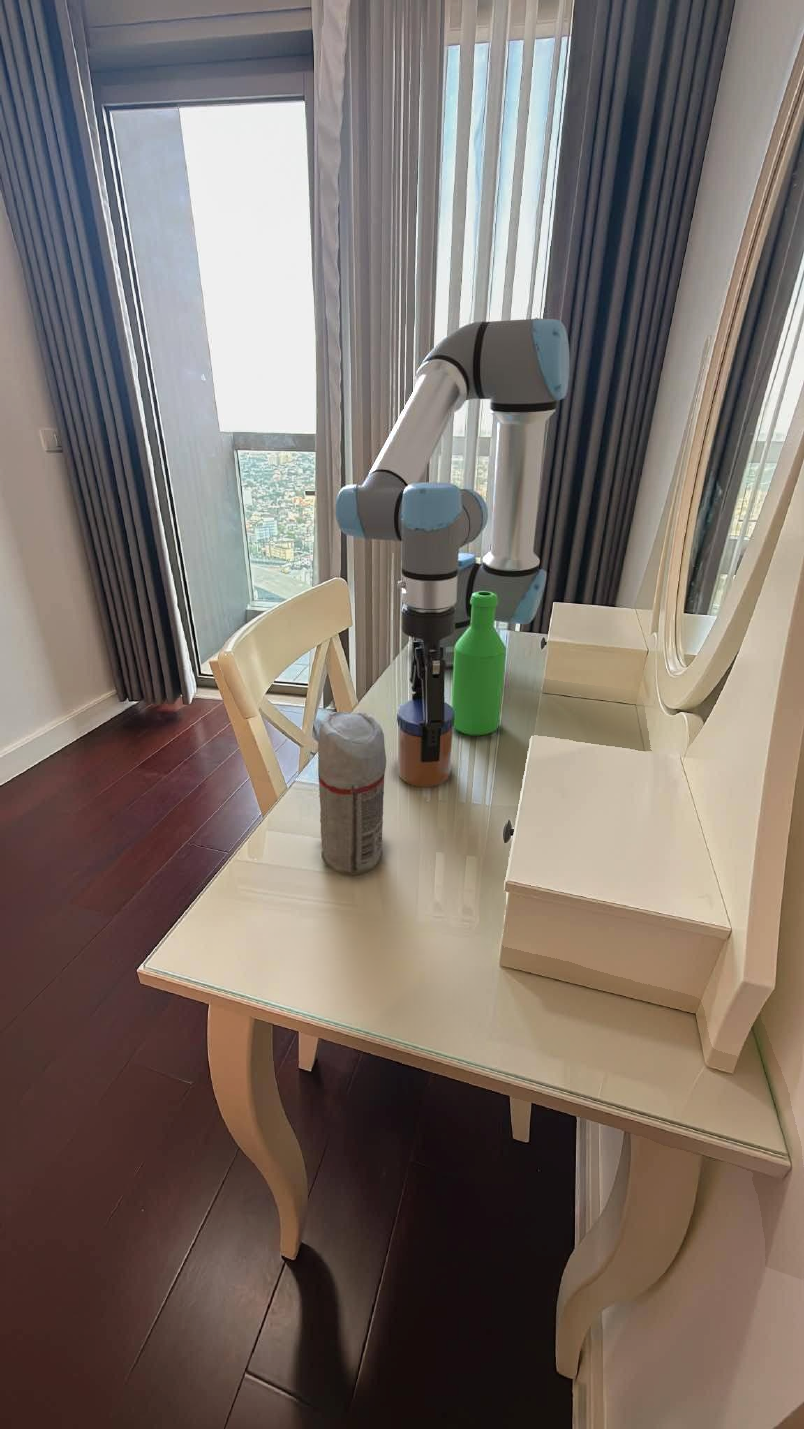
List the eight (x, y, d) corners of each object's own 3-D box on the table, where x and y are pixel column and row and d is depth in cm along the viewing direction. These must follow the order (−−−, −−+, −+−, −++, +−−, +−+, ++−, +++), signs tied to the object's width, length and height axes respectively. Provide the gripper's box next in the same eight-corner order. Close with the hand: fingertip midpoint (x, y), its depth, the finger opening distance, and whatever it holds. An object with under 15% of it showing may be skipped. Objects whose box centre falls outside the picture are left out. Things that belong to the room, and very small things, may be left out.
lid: (394, 710, 90) (394, 699, 89) (447, 707, 91) (448, 696, 90) (401, 738, 82) (401, 727, 81) (459, 734, 83) (460, 723, 82)
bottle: (497, 716, 107) (510, 587, 95) (499, 739, 100) (514, 602, 88) (450, 713, 108) (457, 585, 96) (449, 737, 101) (457, 600, 88)
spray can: (357, 824, 80) (351, 698, 70) (397, 853, 75) (398, 721, 65) (308, 853, 74) (295, 721, 65) (348, 886, 69) (340, 749, 60)
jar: (406, 754, 96) (407, 698, 90) (455, 762, 93) (458, 706, 88) (391, 781, 89) (390, 723, 83) (443, 791, 86) (446, 732, 81)
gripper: (392, 584, 86) (393, 713, 97) (413, 633, 68) (411, 786, 79) (440, 582, 87) (435, 710, 98) (474, 630, 69) (463, 782, 80)
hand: (424, 744), depth 88 cm, fingers closed on lid, 9 cm apart
